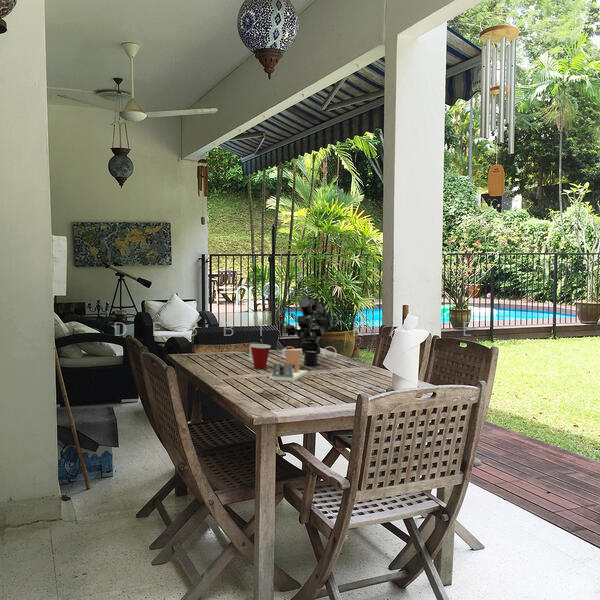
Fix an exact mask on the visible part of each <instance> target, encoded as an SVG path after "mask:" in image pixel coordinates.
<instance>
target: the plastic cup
mask: <svg viewBox="0 0 600 600" xmlns="http://www.w3.org/2000/svg"><path fill="white" fill-rule="evenodd" d="M249 346H250V349H251V356H252V361H253V367H254V369H256V368H264V369H266V368H267V362H268V358H269V352H270V349H271V347H272V346H271V345H270V344H264V343H263V344H262V343H251V344H250V345H249Z"/></svg>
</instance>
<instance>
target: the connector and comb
mask: <svg viewBox="0 0 600 600" xmlns="http://www.w3.org/2000/svg"><path fill="white" fill-rule="evenodd" d="M283 369H284V373H283V374H281V373H280V371H281V370H283ZM292 370H293V369H292V364H289V365H288V364H286V363H284V364H282V363H276V362H274V363H272V374H271V375H272V376H274V377H290V378H292V377H293V375H292ZM276 373H278V374H276Z"/></svg>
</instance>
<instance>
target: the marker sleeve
mask: <svg viewBox="0 0 600 600" xmlns="http://www.w3.org/2000/svg"><path fill="white" fill-rule="evenodd" d="M285 354H286V357H285V358H286V359H285V361H286V363H285V364H287V365H289V364H292V365H295V368H294V370H295V371H298V370H300V365H301V349H291V348H288V349H286V353H285Z"/></svg>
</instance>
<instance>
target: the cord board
mask: <svg viewBox="0 0 600 600" xmlns="http://www.w3.org/2000/svg"><path fill="white" fill-rule="evenodd" d="M307 373H308V370H302V369H299V370H298V371H295V369H292V375H293V377H292V378H290V377H274V376H272V374H271V375H269V380H270V379H272V380H271V381H283V380H284V381H283V382H294V381H296V380H299V379H300V377H301V378H303V377H304V376H307V375H308V374H309V373H308V374H307ZM276 374H278V372H276ZM298 378H299V379H298Z"/></svg>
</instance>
